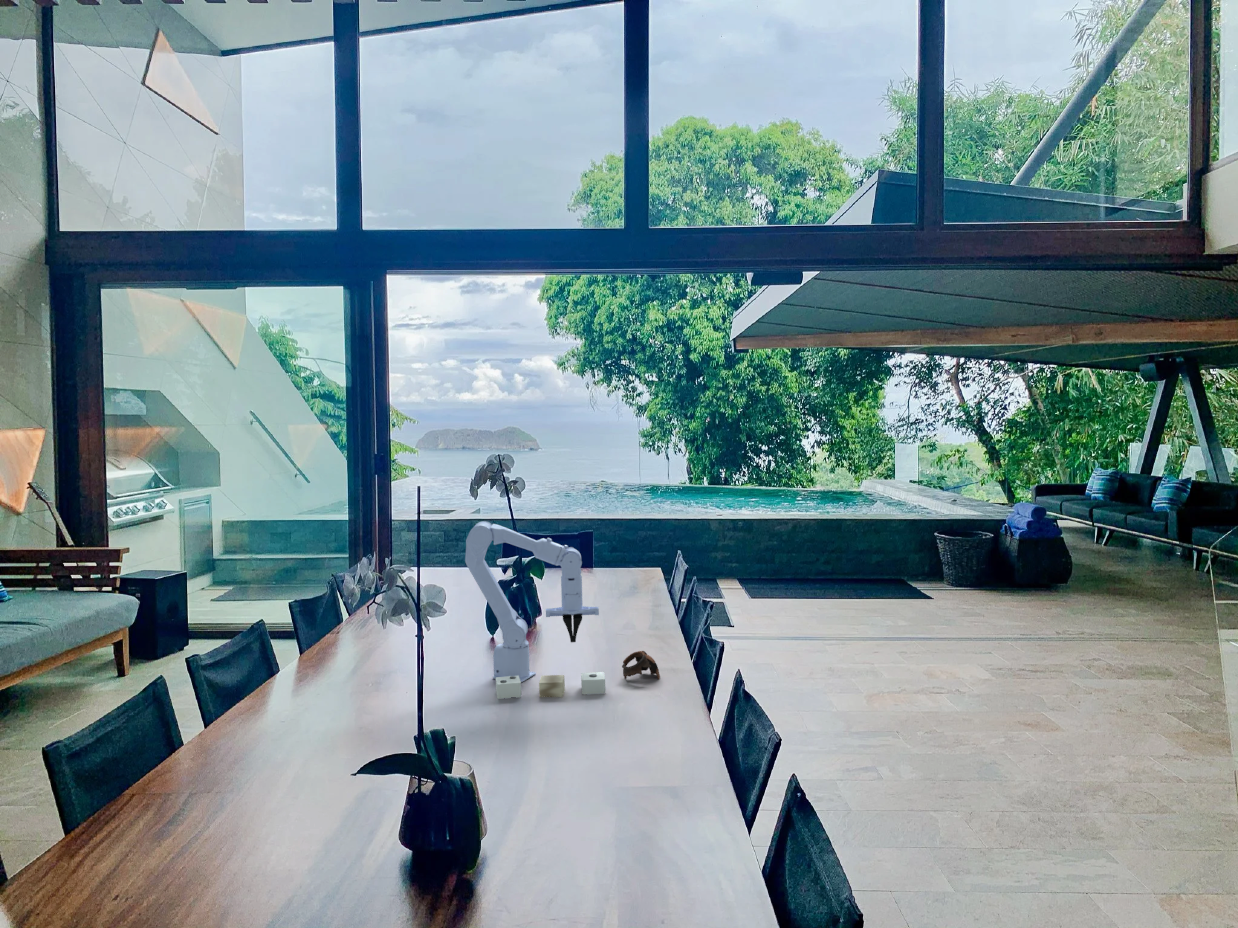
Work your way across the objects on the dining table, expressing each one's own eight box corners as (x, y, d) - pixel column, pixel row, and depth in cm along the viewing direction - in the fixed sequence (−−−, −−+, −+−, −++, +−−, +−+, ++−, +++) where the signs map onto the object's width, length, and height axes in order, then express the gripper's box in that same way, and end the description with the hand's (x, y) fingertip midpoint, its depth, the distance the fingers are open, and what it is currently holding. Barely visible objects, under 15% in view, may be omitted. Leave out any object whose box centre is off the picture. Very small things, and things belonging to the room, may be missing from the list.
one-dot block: (582, 695, 219) (581, 679, 219) (581, 687, 225) (581, 672, 225) (605, 694, 220) (605, 678, 219) (604, 686, 226) (603, 671, 225)
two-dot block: (497, 699, 217) (497, 683, 217) (496, 692, 223) (495, 676, 223) (521, 697, 218) (520, 681, 218) (519, 690, 224) (518, 674, 224)
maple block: (539, 697, 218) (539, 682, 218) (542, 690, 224) (541, 675, 224) (562, 697, 218) (562, 682, 218) (564, 689, 224) (564, 674, 224)
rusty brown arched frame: (663, 684, 228) (648, 660, 225) (632, 698, 229) (617, 675, 227) (662, 660, 239) (648, 637, 237) (632, 674, 241) (618, 651, 238)
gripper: (545, 596, 230) (546, 646, 231) (598, 594, 231) (599, 644, 232) (545, 591, 237) (546, 639, 238) (597, 589, 238) (598, 637, 239)
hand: (573, 641), depth 235 cm, fingers closed
